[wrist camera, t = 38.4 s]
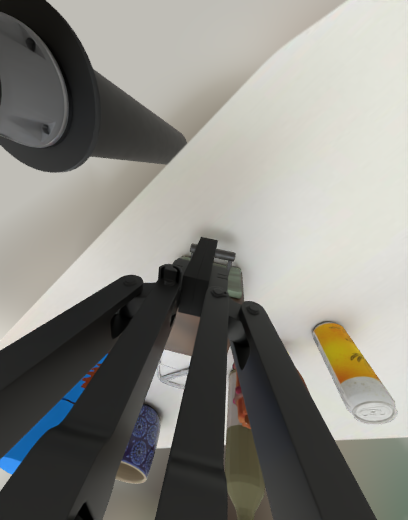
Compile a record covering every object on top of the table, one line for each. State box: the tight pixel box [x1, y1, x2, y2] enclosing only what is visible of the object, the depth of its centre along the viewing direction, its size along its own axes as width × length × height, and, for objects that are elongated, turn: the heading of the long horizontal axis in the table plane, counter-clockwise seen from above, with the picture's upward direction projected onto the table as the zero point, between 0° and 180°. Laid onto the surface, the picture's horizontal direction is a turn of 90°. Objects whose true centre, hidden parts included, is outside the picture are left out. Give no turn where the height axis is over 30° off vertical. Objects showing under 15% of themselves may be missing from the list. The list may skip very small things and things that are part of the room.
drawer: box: [181, 244, 242, 299], centre depth 34 cm, size 18×11×8 cm, turn 170°
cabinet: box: [164, 273, 244, 356], centre depth 35 cm, size 15×13×10 cm
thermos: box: [0, 350, 111, 474], centre depth 40 cm, size 11×11×25 cm
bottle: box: [225, 370, 265, 520], centre depth 36 cm, size 7×7×30 cm
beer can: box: [313, 322, 398, 424], centre depth 32 cm, size 6×6×15 cm
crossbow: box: [157, 361, 189, 389], centre depth 52 cm, size 16×13×2 cm
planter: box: [115, 404, 160, 484], centre depth 59 cm, size 17×17×15 cm
